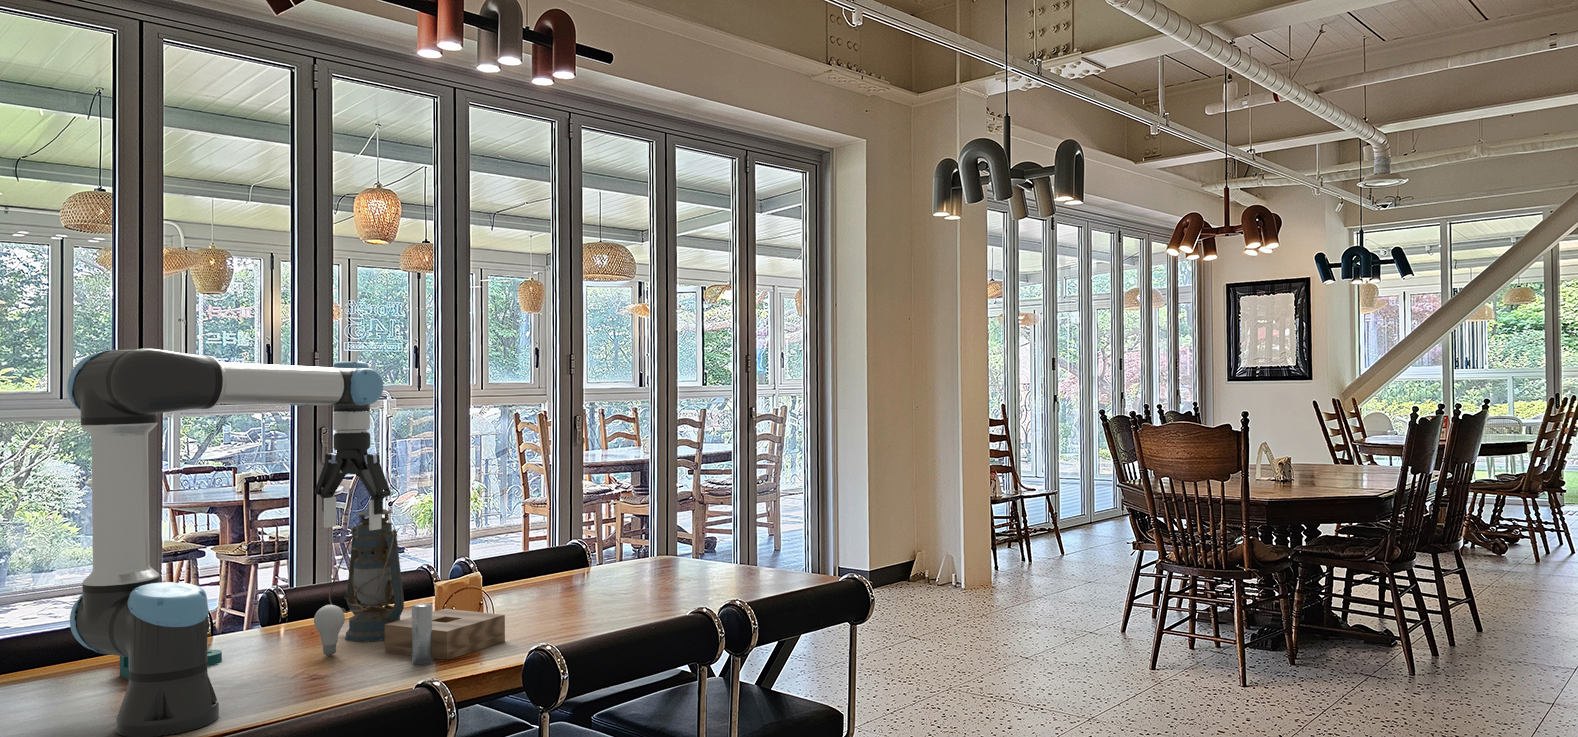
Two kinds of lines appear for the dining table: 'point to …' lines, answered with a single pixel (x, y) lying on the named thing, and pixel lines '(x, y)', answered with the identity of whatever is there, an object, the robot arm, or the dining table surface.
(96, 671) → the dining table surface
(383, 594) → the lantern
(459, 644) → the walnut block
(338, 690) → the dining table surface
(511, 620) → the dining table surface
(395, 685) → the dining table surface
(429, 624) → the pin
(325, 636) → the lightbulb
